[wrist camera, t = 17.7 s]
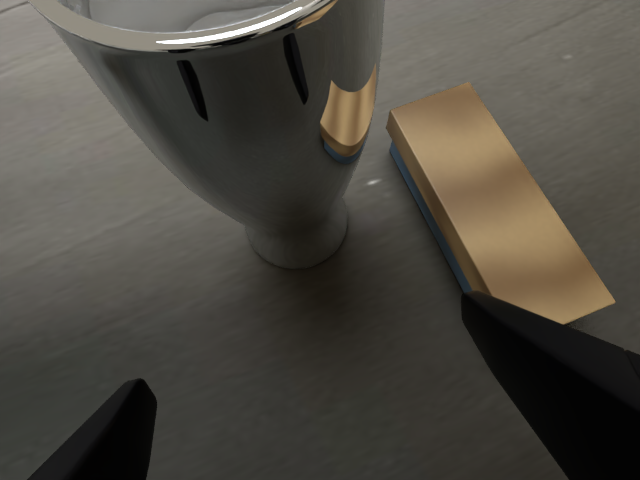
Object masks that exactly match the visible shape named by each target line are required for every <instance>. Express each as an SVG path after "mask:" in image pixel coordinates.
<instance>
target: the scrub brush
mask: <svg viewBox="0 0 640 480" xmlns="http://www.w3.org/2000/svg"><path fill="white" fill-rule="evenodd" d="M386 129H387V131H388V133H389V134H390V136H391V138H392V143H391V147H390V152H391V154H392V156H393V158H394V160H395V162H396V164H397V166H398V168H399V170H400V171H401V173H402V175H403V177H404V179H405V181H406V183H407V185H408V187H409V189H410V191H411V192H412V194H413V196H414V198H415V200H416V202H417V204H418V206H419V208H420V210H421V212H422V213H423V215H424V217H425V219H426V221H427V223H428V225H429V227H430V229H431V231H432V233H433V234H434V236H435V238H436V240H437V242H438V244H439V246H440V248H441V250H442V252H443V253H444V255H445V257H446V259H447V261H448V263H449V265H450V267H451V269H452V271H453V273H454V274H455V276H456V278H457V280H458V282H459V284H460V286H461V288H462V290H463V292H464V293H466V292H470V291H473V290H478V291H481V292H484V293H486V294H489V295H491V296H494V297H496V298H499V299H501V300H504V301H506V302H509V303H511V304H514V305H516V306H519V307H521V308H524V309H526V310H529V311H531V312H534V313H536V314H539V315H541V316H544V317H546V318H549V319H551V320H554V321H556V322H559V323H561V324H567V323H569V322H571V321H574V320H576V319H579V318H581V317H583V316H586V315H588V314H590V313H593V312H595V311H598V310H600V309H602V308H605V307H607V306H609V305H612V304H614V303H615V300H614V299H613V297H612V296H611V294H610V293H609V291H608V290H607V288H606V287H605V285H604V284H603V282H602V281H601V279H600V278H599V276H598V275H597V273H596V272H595V270H594V269H593V267H592V266H591V264H590V263H589V261H588V260H587V258H586V257H585V255H584V254H583V252H582V251H581V249H580V248H579V246H578V245H577V243H576V242H575V240H574V239H573V237H572V236H571V234H570V233H569V231H568V230H567V228H566V227H565V225H564V224H563V222H562V221H561V219H560V218H559V216H558V215H557V213H556V212H555V210H554V209H553V207H552V206H551V204H550V203H549V201H548V200H547V198H546V197H545V195H544V194H543V192H542V191H541V189H540V188H539V186H538V185H537V183H536V182H535V180H534V179H533V177H532V176H531V174H530V173H529V171H528V170H527V168H526V167H525V165H524V164H523V162H522V161H521V159H520V158H519V156H518V155H517V153H516V152H515V150H514V149H513V147H512V146H511V144H510V143H509V141H508V140H507V138H506V137H505V135H504V134H503V132H502V131H501V129H500V128H499V126H498V125H497V123H496V122H495V120H494V119H493V117H492V116H491V114H490V113H489V111H488V110H487V108H486V107H485V105H484V104H483V102H482V101H481V99H480V98H479V96H478V95H477V93H476V92H475V90H474V89H473V87H472V86H471V84H470V83H469V82H468V83H465V84H462V85H459V86H456V87H454V88H451V89H448V90H445V91H442V92H439V93H437V94H434V95H431V96H428V97H425V98H423V99H420V100H417V101H414V102H411V103H408V104H406V105H403V106H400V107H397V108H394V109H391V110H390V113H389V117H388V122H387V126H386Z"/></svg>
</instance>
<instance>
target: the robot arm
mask: <svg viewBox="0 0 640 480" xmlns="http://www.w3.org/2000/svg"><path fill="white" fill-rule="evenodd" d="M461 311H462V320H463V323H464V325H465V327H466V328H467V330H468V332H469V334H470V335H471V337H472V339H473V341H474V342H475V344H476V346H477V348H478V349H479V351H480V353H481V355H482V356H483V358H484V360H485V362H486V363H487V365H488V367H489V368H490V370H491V372H492V373H493V375H494V376H495V378H496V379H497V380H498V382H499V383H500V385H501V386H502V387H503V389H504V390H505V392H506V393H507V394H508V396H509V397H510V398H511V400H512V401H513V403H514V404H515V405H516V407H517V408H518V410H519V411H520V412H521V414H522V415H523V416H524V418H525V419H526V421H527V422H528V423H529V425H530V426H531V427H532V429H533V430H534V432H535V433H536V434H537V436H538V437H539V439H540V440H541V441H542V443H543V444H544V445H545V447H546V448H547V450H548V451H549V452H550V454H551V455H552V457H553V458H554V459H555V461H556V462H557V463H558V465H559V466H560V468H561V469H562V470H563V472H564V473H565V475H566V476H567V477H568V479H569V480H640V355H639V354H636V353H634V352H631V351H629V350H625V351H624V349H623V348H621V347H618V346H616V345H613V344H611V343H608V342H606V341H603V340H601V339H598V338H596V337H593V336H591V335H588V334H586V333H583V332H581V331H579V330H576V329H574V328H571V327H569V326H566V325H564V324H561V323H559V322H556V321H554V320H551V319H549V318H546V317H544V316H541V315H539V314H536V313H534V312H531V311H529V310H526V309H524V308H521V307H519V306H516V305H514V304H511V303H509V302H506V301H504V300H501V299H499V298H496V297H494V296H491V295H489V294H486V293H484V292H481V291H478V290H473V291H470V292H466V293H463V294H462V297H461ZM156 410H157V400H156V397H155V396H154V394H153V392H152V391H151V389H150V388H149V386H148V385H147V383H146V382H145V380H143V379H141V378H138V379H135V380H131V381H127V382H125V383H124V384H123V385H122V386H121V387H120V388H119V389H118V390H117V391H116V392H115V393H114V394H113V395H112V396H111V397H110V398H109V399H108V400H107V401H106V402H105V403H104V404H103V405H102V406H101V407H100V408H99V409H98V410H97V411H96V412H95V413H94V414H93V415H92V416H91V417H90V418H89V419H88V420H87V421H86V422H85V423H84V424H83V425H82V426H81V427H80V428H79V429H78V430H77V431H76V432H75V433H74V434H73V435H72V436H71V437H70V438H69V439H68V440H67V441H66V442H65V443H64V444H63V445H62V446H60V447H59V448H58V449H57V450H56V451H55V452H54V453H53V454H52V455H51V456H50V457H49V458H48V459H47V460H46V461H45V462H44V463H43V464H42V465H41V466H40V467H39V468H38V469H37V470H36V471H35V472H34V473H33V474H32V475H31V476H30V477H29V478H28V479H27V480H146V477H147V472H148V468H149V462H150V456H151V448H152V441H153V433H154V426H155V418H156Z"/></svg>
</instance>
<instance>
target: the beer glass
mask: <svg viewBox="0 0 640 480" xmlns="http://www.w3.org/2000/svg"><path fill="white" fill-rule="evenodd" d="M28 1H29V3H30V4H31V5H32V6H33V7H34V8H35V9H36V10H37V11H38V12H39V13H40V14H41V15H42V16H43V17H44V18H45V19H46V20H47V22H48V23H49V24H50V25H51V26H52V28H53V29H54V30H55V31H56V33H57V34H58V35H59V36H60V38H61V39H62V40H63V42H64V43H65V44H66V45H67V47H68V48H69V49H70V51H71V52H72V53H73V54H74V56H75V57H76V58H77V60H78V61H79V62H80V64H81V65H82V66H83V68H84V69H85V70H86V72H87V73H88V74H89V76H90V77H91V78H92V80H93V81H94V82H95V84H96V85H97V86H98V88H99V89H100V90H101V92H102V93H103V94H104V95H105V97H106V98H107V99H108V100H109V102H110V103H111V104H112V105H113V107H114V108H115V109H116V111H117V112H118V113H119V114H120V116H121V117H122V118H123V119H124V121H125V122H126V123H127V124H128V126H129V127H130V128H131V129H132V130H133V131H134V133H135V134H136V135H137V136H138V137H139V138H140V139H141V141H142V142H143V143H144V144H145V145H146V146H147V147H148V149H149V150H150V151H151V152H152V153H153V154H154V156H155V157H156V158H157V159H158V160H159V161H160V162H161V163H162V164H163V165H164V166H165V167H166V168H167V169H168V170H169V171H170V172H171V173H172V174H173V175H174V176H176V177H177V178H178V179H179V180H180V181H181V182H182V183H183V184H184V185H185V186H186V187H187V188H188V189H190V190H191V191H192V192H194V193H195V194H196V195H198V196H199V197H200V198H202V199H203V200H204V201H206V202H207V203H209V204H210V205H211V206H213V207H214V208H216V209H217V210H219V211H220V212H222V213H224V214H225V215H227V216H229V217H230V218H232V219H234V220H236V221H237V222H239V223H241V224H243V225H244V226H245V230H246V233H247V236H248V239H249V241H250V243H251V245H252V247H253V248H254V250H255V251H256V252H257V253H258V254H259V255H260V256H261V257H262V258H263V259H265V260H266V261H268V262H270V263H272V264H274V265H276V266H279V267H282V268H287V269H303V268H308V267H311V266H314V265H317V264H319V263H321V262H323V261H324V260H326V259H327V258H328V257H330V256H331V255H332V254H333V253H334V252H335V251H336V250H337V248H338V247H339V246H340V244H341V242H342V241H343V239H344V236H345V233H346V230H347V224H348V214H347V208H346V205H345V202H344V200H343V195H344V193H345V191H346V189H347V187H348V185H349V183H350V180H351V178H352V176H353V174H354V172H355V170H356V167H357V165H358V162H359V160H360V157H361V154H362V151H363V148H364V146H365V143H366V140H367V137H368V133H369V129H370V124H371V119H372V114H373V110H374V105H375V100H376V94H377V85H378V77H379V69H380V61H381V51H382V37H383V23H384V7H385V0H28Z"/></svg>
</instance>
